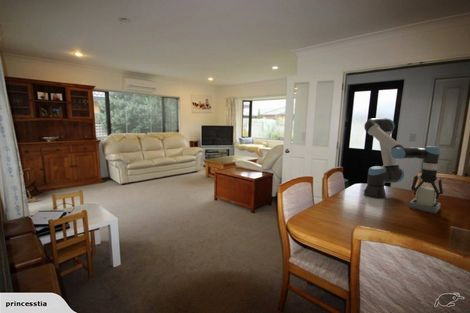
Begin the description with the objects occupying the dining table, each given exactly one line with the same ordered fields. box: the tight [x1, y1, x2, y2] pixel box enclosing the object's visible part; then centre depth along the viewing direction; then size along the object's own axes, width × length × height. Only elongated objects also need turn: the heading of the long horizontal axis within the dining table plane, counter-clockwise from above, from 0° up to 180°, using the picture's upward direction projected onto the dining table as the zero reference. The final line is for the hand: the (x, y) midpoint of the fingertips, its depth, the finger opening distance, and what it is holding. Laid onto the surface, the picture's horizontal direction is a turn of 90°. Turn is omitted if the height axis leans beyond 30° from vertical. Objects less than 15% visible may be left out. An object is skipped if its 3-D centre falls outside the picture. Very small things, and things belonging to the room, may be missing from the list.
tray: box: [408, 197, 441, 215], centre depth 152 cm, size 14×14×4 cm
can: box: [416, 185, 436, 207], centre depth 152 cm, size 9×9×12 cm
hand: (425, 201), depth 152 cm, fingers open, 9 cm apart
